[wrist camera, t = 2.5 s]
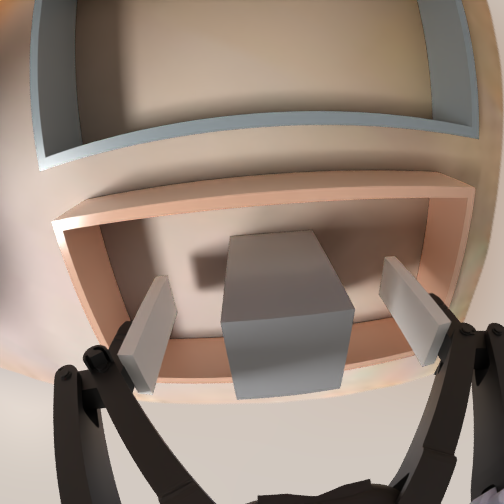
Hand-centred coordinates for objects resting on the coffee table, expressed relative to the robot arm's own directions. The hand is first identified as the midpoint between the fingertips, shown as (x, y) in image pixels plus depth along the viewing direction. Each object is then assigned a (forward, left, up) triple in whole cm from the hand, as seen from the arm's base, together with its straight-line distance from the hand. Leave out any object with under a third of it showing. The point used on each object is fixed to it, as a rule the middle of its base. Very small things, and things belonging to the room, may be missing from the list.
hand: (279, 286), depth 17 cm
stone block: (0, 0, -2) cm, 2 cm away
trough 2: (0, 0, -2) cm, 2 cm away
